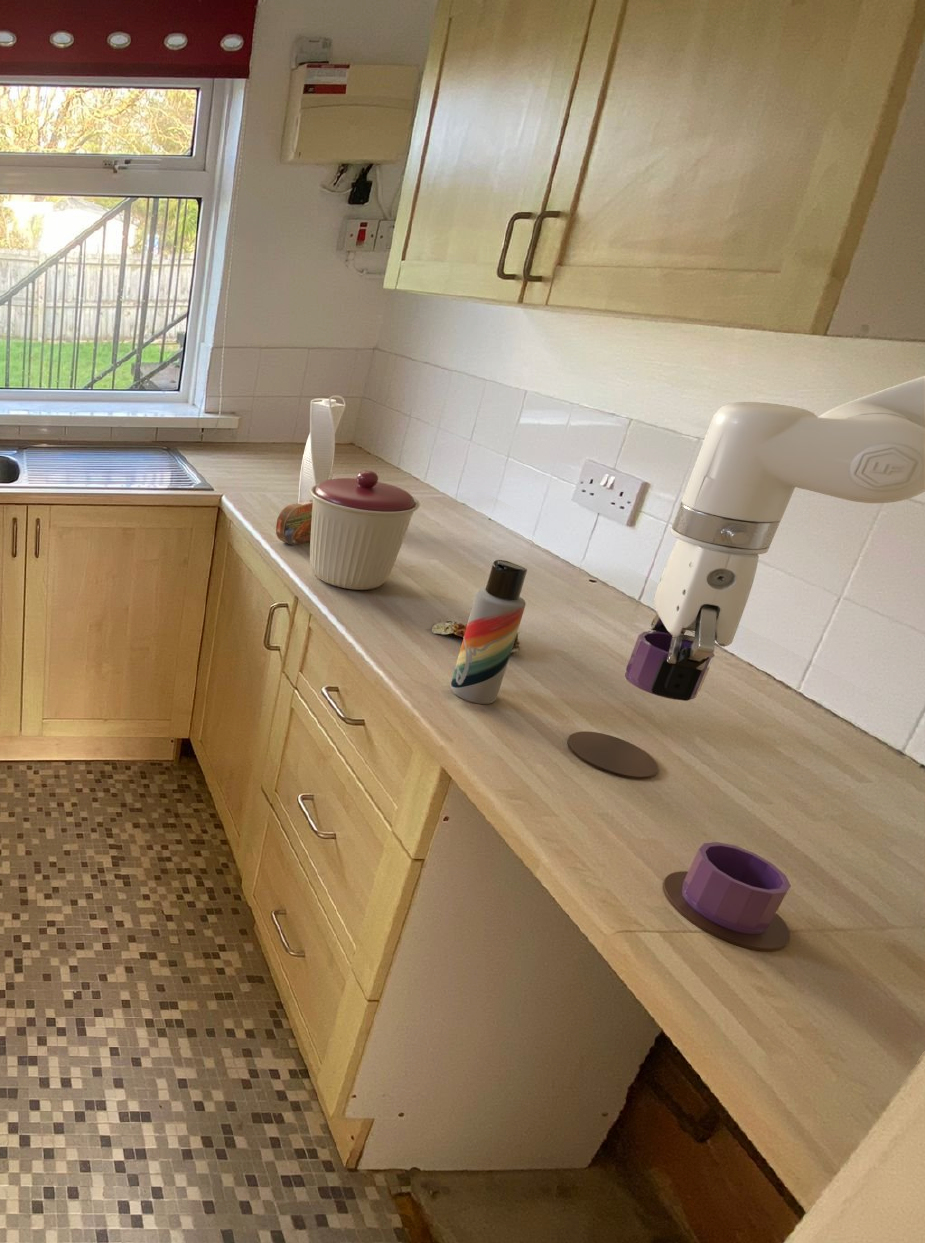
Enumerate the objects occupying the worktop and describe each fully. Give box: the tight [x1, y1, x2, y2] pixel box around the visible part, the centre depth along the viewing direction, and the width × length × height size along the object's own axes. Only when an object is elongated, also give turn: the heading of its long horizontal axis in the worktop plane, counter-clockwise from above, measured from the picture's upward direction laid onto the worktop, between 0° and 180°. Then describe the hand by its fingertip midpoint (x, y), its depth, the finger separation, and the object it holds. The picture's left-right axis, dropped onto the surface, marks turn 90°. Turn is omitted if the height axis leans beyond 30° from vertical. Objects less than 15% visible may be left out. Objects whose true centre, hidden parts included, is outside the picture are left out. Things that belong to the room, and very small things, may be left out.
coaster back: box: [566, 730, 659, 780], centre depth 94 cm, size 9×9×1 cm
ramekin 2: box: [681, 841, 792, 934], centre depth 71 cm, size 6×6×5 cm
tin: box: [275, 500, 313, 546], centre depth 161 cm, size 15×3×8 cm, turn 120°
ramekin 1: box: [624, 630, 716, 701], centre depth 83 cm, size 6×6×5 cm
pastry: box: [431, 619, 521, 653], centre depth 121 cm, size 7×12×4 cm, turn 53°
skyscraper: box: [297, 394, 347, 503], centre depth 174 cm, size 8×8×28 cm
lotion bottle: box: [450, 559, 528, 705], centre depth 103 cm, size 6×6×20 cm
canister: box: [309, 470, 421, 591], centre depth 139 cm, size 18×18×21 cm
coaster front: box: [662, 870, 791, 952], centre depth 72 cm, size 9×9×1 cm
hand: (662, 679), depth 83 cm, fingers closed on ramekin 1, 6 cm apart
